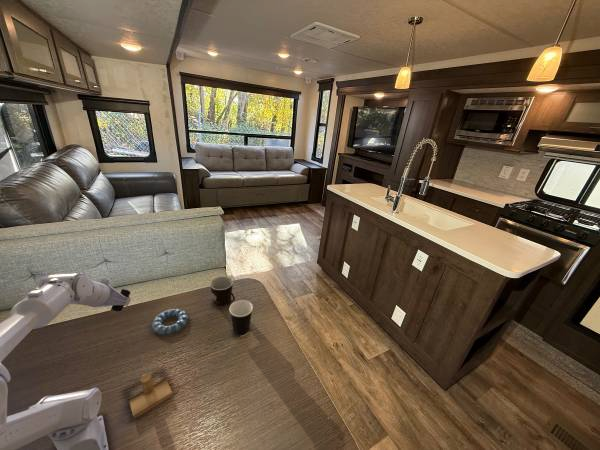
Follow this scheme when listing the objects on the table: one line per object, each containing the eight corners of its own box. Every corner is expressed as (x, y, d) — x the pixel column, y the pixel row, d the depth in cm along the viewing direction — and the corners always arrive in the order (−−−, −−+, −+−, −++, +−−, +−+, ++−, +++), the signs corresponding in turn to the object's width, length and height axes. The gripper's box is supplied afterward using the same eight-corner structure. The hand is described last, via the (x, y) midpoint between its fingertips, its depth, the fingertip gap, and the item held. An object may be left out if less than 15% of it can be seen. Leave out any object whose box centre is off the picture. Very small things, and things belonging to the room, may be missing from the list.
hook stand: (172, 395, 67) (169, 380, 64) (134, 419, 61) (129, 403, 58) (162, 370, 73) (159, 356, 70) (126, 390, 67) (121, 375, 64)
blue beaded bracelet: (192, 326, 88) (192, 320, 87) (158, 343, 81) (157, 336, 80) (181, 308, 95) (180, 302, 94) (149, 322, 88) (147, 316, 87)
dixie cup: (254, 337, 86) (255, 313, 82) (231, 343, 83) (230, 318, 79) (250, 321, 93) (250, 298, 89) (228, 325, 90) (227, 302, 86)
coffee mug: (210, 298, 102) (208, 278, 98) (231, 294, 106) (230, 274, 102) (213, 318, 93) (212, 297, 89) (236, 312, 96) (236, 292, 92)
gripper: (128, 284, 62) (145, 290, 74) (66, 268, 60) (94, 277, 72) (113, 313, 59) (133, 314, 71) (47, 297, 57) (80, 302, 69)
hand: (113, 297), depth 71 cm, fingers open, 7 cm apart
